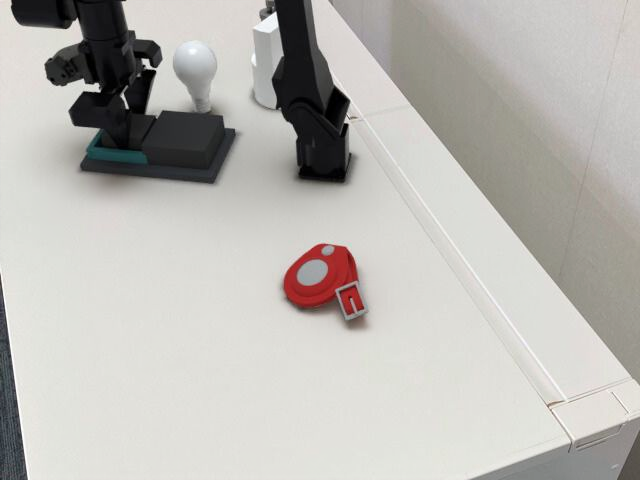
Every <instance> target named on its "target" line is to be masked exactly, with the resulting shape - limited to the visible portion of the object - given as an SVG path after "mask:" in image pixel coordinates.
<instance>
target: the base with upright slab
mask: <svg viewBox="0 0 640 480" xmlns="http://www.w3.org/2000/svg"><path fill="white" fill-rule="evenodd" d="M252 35H253V45H254V52H253V53H252V54H251V57H250V59H251V60H250V61H251V70H252V80H253V90H254V99H255V100H256V102H257V103H258V104H260V105H261V106H262V107H265V108H268V109H271V110H277V109H276V103H277V98H276V94H275V91H274V88H273V85H272V80H271V79H272V77H273V74H274V72H275V70H276V68H277V65H278V63H279V61H280V59H281V57H282V56H284V55H283V49H282V43H281V38H280V32H279V26H278V20H277V14H276V12H275V13H273V14H272V15H270V16H269V17H267V18H266V19H265V20H263V21H262V22H261V21H260V22H259V23H258V24H256V25H255V26H253V27H252ZM278 110H280V111H281V108H279V109H278Z"/></svg>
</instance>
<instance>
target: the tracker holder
mask: <svg viewBox="0 0 640 480" xmlns="http://www.w3.org/2000/svg"><path fill="white" fill-rule="evenodd" d="M282 285H283V292H284V293H285V295H286V296H287V298H288V299H289V301H290V302H291V303H292V304H293V305H296V306H298V307H301V308H305V309H307V308H316V307H321V306H324V305H326V304H328V303H330V302H332V301H333V300H334V299H336V300H337V301H338V302H339V306H340V308H341V311H342V314H343V316H344V319H345V321H351V320H352V319H353V320H354V319H355V318H357V317H360V316H363V315H365V314H367V313H369V311H370V310H369V307H368V304H367V302H366V299H365V295H364V294H363V291H362V288H361V285H360V281H359V273H358V268H357V264H356V260H355V258H354V255H353V254H352V252H351V251H350V250H349V249H348V247H347V246H344V245H338V244H332V243H318V244H316V245H314V246H313V247H311V248H310V249H308V250H307V251H306V252H304V253H303V254H302V255H301V256H300V257H298V258H297V259H296V260H295V261H294V262H293V263H292V264H291V265H290V266H289V267H288V269H287V270H286V272H285V275H284V278H283V283H282Z"/></svg>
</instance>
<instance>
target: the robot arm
mask: <svg viewBox="0 0 640 480" xmlns="http://www.w3.org/2000/svg"><path fill="white" fill-rule="evenodd" d="M123 2H127V0H10V3H11V4H10V11H11V13H12V16H13V18H14V20H15V21H16V22H17V24H18V25H20V26H22V27H27V28H28V27H29V28H39V29H56V30H68V29H70V28H71V26H72V25H73V22H76V21H78V24H79V28H80V32H81V35H82V36H81V37H82V40H80V42H77V43H74V44H71V45H68V46H65V47H62V48H60V49H59V50H57V51H56V52H55V53H54V55H52V57H49V58H48V59H46V61H45V62H44V64H43V65H44V70H45V71H44V72H45V75H46V76H45V77H46V80H47V81H49V82H50V83H51V84H52V85H53V86H54V87H59V86H60V87H61V88H62V87H66V86H68V85H69V84H72V83H74V82H79V81H81V80H83V81H84V84H85V85H91V86H92V85H93V86H94V85H95V84H98V91H99V92H98V91H91V90H90V91H89V90H83V91H82V92H81V93H80V94H79V95H78V97H77V98H76V99H75V101H74V102H73V103H72V105H71V106H70V108H69V109H68V110H67V111H68V112H67V113H68V115H69V119H70V121H71V124H72V125H73V127H78V128H88V129H89V128H90V129H98V130H100V129H105V131H106V132H107V133H108V135H109V136H110V137H111V139H112V140H113V141H114V143H115V144H116V146H117V147H118V148H119V150H128V145H129V137H130V127H131V118H132V113H134V114H145V115H147V111H148V107H149V102H150V98H151V94H152V91H153V86H154V83H155V79H156V76H157V74H158V73H157V70H156V69H158V68H159V66H160V64H161V63H162V62H163V60H164V58H163V52H162V48H161V46H160V45H159V44H158V43H157V42H156V41H154V39H143V38H137V35H136V30H133V29H129V27H128V23H127V18H126V14H125V9H124V5H123ZM312 2H313V1H312V0H274V3H275V8H276V14H277V20H278V26H279V32H280V38H281V43H282V49H283V55H284V56H282V57H281V59H280V61H279V63H278V65H277V68H276V70H275V72H274V74H273V77H272V79H271V80H272V85H273V88H274V91H275V94H276V98H277V103H276V109H275V110H279V108H281V110H280V113H281V115H282V117H283V119H284V121H285V122H287V123H289V124H290V125H291V126H292V128H293V130H294V132H295V135H296V139H295V150H296V151H295V152H296V164H297V165H296V166H297V167H299V170H298V178H299V179H305V180H313V181H314V180H317V181H325V182H326V181H327V182H336V183H344V182H346V178H347V175H348V172H349V168H350V165H351V161H352V158H353V157H352V156H353V154H352V153H351V151H350V123H347V122H346V118H347V115H348V111H349V108H350V104H351V99H350V98H349V97H348V96H346V95H347V94H345V93H344V92H343V91H342V90H341V89H340V88H338V86H337V85H336V84H335V83H334V80H333V76H332V72H331V70H330V66H329V64H328V63H329V62H328V61H327V59H326V57H325V56H324V54H323V52H322V51H321V49H320V47H319V45H318V40H317V39H318V38H317V33H316V25H315V18H314V17H315V16H314V10H313V9H314V8H313V4H312ZM143 60H148V62H149V63H148V64H149V66H150V67H151V69H150V68H147V65H146V64H144V62H143ZM122 96H123V97H124V99H125V100H124V99H123V97H122ZM125 102H126V103H125ZM126 105H127V106H126Z"/></svg>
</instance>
